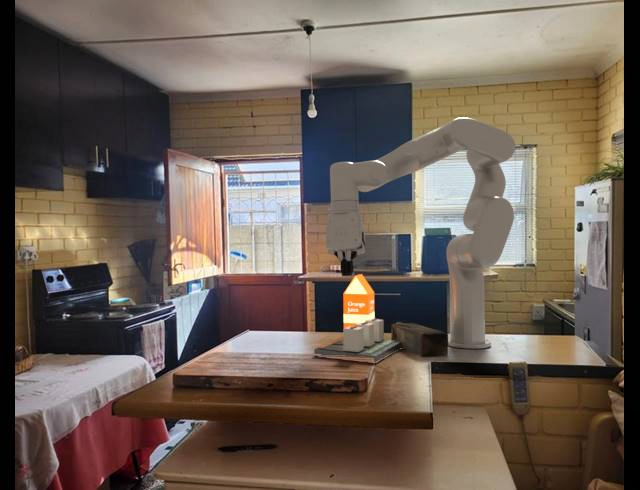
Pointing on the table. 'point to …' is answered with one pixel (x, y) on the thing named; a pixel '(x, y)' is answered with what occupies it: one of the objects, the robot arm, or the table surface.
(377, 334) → the breaker
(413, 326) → the beverage carton
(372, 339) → the breaker mid
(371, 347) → the panel
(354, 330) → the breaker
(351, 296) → the orange juice
